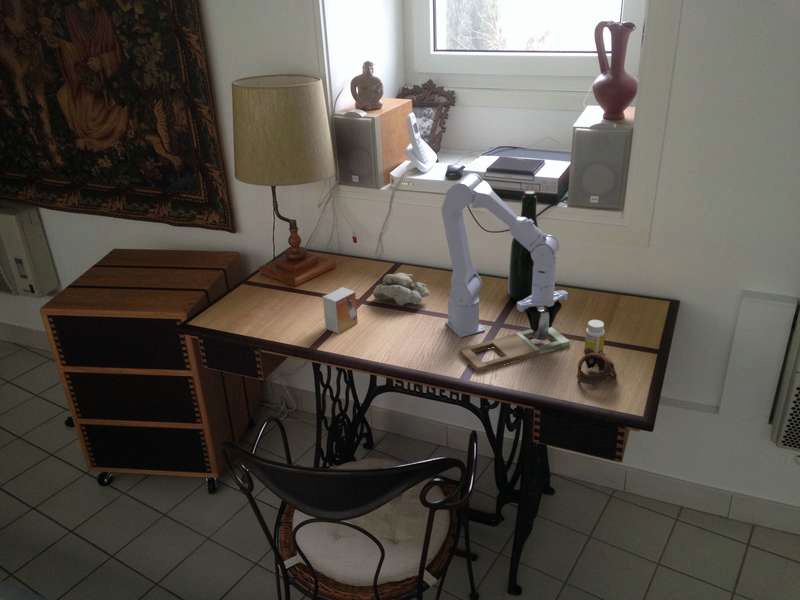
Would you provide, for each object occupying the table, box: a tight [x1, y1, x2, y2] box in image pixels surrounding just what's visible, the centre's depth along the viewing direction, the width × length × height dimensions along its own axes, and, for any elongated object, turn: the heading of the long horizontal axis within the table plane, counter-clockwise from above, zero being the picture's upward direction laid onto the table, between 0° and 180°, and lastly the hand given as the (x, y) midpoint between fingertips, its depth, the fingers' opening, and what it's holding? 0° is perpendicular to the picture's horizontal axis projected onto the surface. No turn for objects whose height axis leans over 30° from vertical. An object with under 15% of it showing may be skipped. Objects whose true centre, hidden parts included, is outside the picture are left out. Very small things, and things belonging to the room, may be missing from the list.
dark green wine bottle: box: [507, 190, 540, 301], centre depth 202 cm, size 10×10×33 cm
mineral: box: [372, 272, 430, 306], centre depth 207 cm, size 12×17×10 cm
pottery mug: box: [576, 347, 618, 386], centre depth 168 cm, size 12×10×8 cm
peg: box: [532, 306, 550, 341], centre depth 182 cm, size 4×4×8 cm
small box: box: [322, 286, 359, 335], centre depth 195 cm, size 8×6×10 cm
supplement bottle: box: [583, 319, 606, 355], centre depth 178 cm, size 5×5×8 cm
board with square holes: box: [458, 326, 571, 373], centre depth 182 cm, size 10×28×2 cm, turn 114°
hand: (540, 327), depth 183 cm, fingers closed on peg, 4 cm apart
